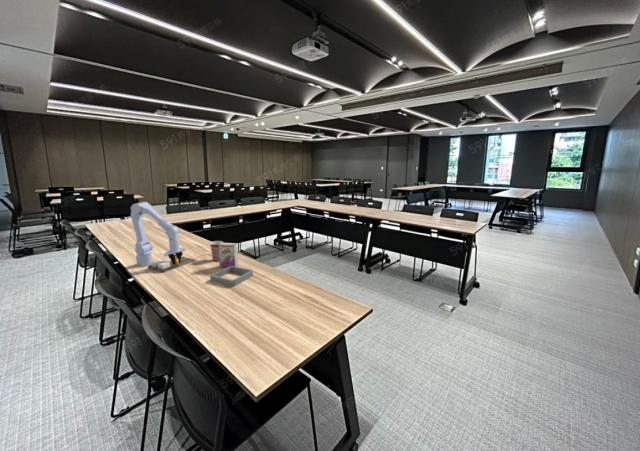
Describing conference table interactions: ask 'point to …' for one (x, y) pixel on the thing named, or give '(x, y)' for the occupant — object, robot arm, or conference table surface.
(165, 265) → the orange mallet
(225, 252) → the candy bar box
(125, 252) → the conference table surface
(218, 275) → the desk tray rim
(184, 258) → the lane rack
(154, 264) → the grey block
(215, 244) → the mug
